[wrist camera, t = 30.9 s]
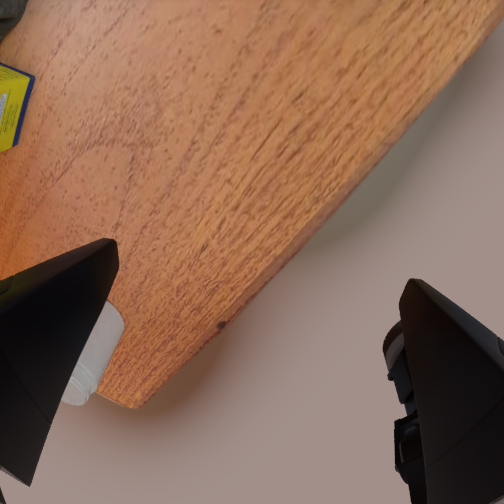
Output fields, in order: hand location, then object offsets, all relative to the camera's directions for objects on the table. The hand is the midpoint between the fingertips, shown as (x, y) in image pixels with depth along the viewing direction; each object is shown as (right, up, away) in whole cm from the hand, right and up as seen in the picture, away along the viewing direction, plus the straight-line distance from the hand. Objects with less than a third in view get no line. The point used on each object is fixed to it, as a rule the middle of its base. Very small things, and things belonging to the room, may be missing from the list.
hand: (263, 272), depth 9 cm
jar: (-15, -6, +18) cm, 24 cm away
